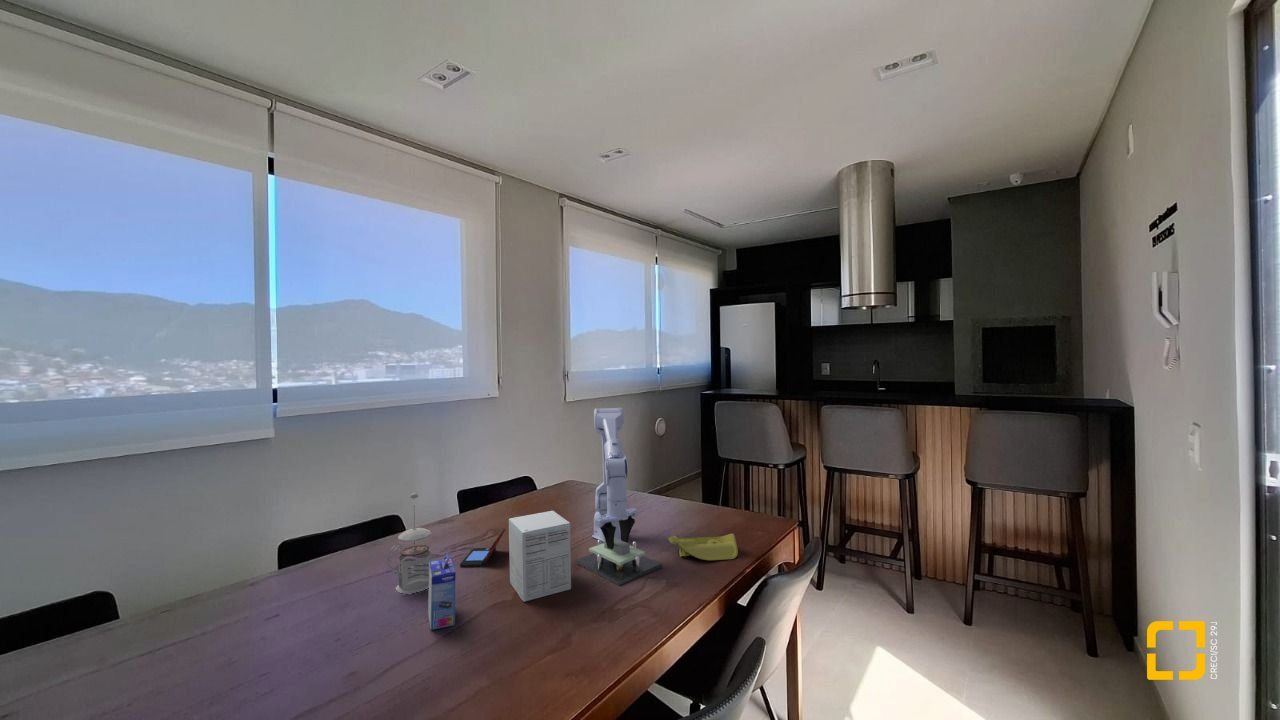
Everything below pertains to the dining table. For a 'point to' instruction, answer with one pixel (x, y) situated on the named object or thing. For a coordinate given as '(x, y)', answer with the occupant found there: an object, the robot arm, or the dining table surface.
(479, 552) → the handheld game console
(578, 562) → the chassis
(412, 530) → the french press
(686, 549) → the plastic component
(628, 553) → the board
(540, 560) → the supplement box
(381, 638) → the dining table surface
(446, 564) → the ink cartridge box
